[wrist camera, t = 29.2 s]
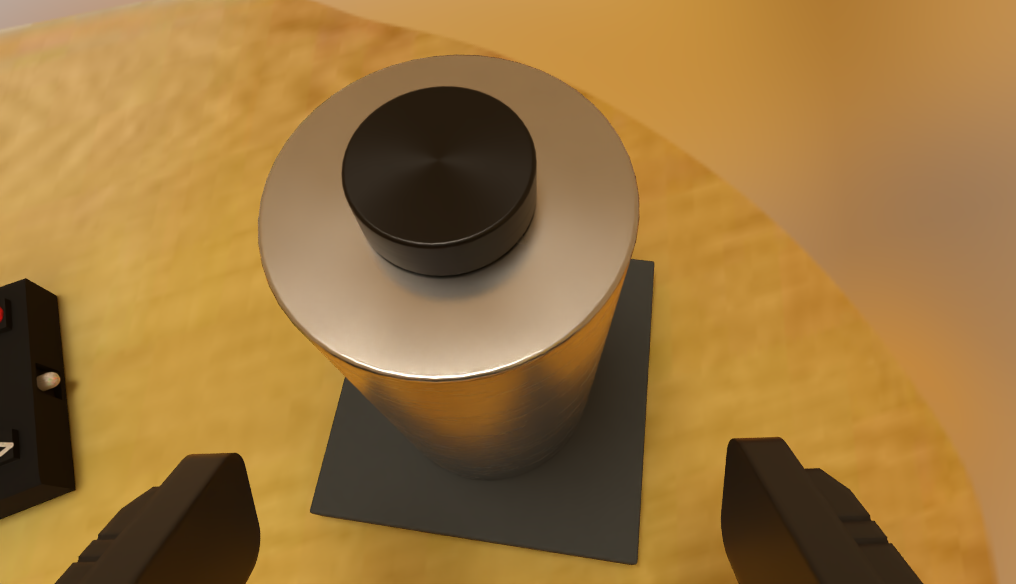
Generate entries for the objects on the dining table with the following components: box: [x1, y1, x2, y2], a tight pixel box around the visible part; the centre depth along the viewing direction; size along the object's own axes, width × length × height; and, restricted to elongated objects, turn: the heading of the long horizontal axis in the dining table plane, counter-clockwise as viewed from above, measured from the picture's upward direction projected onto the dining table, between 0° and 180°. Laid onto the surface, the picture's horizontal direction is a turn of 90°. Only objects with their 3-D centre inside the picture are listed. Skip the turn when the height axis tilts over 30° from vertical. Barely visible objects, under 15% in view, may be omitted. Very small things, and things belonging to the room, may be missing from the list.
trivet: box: [310, 259, 654, 565], centre depth 21 cm, size 10×10×1 cm
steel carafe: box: [258, 55, 639, 481], centre depth 15 cm, size 6×6×12 cm
